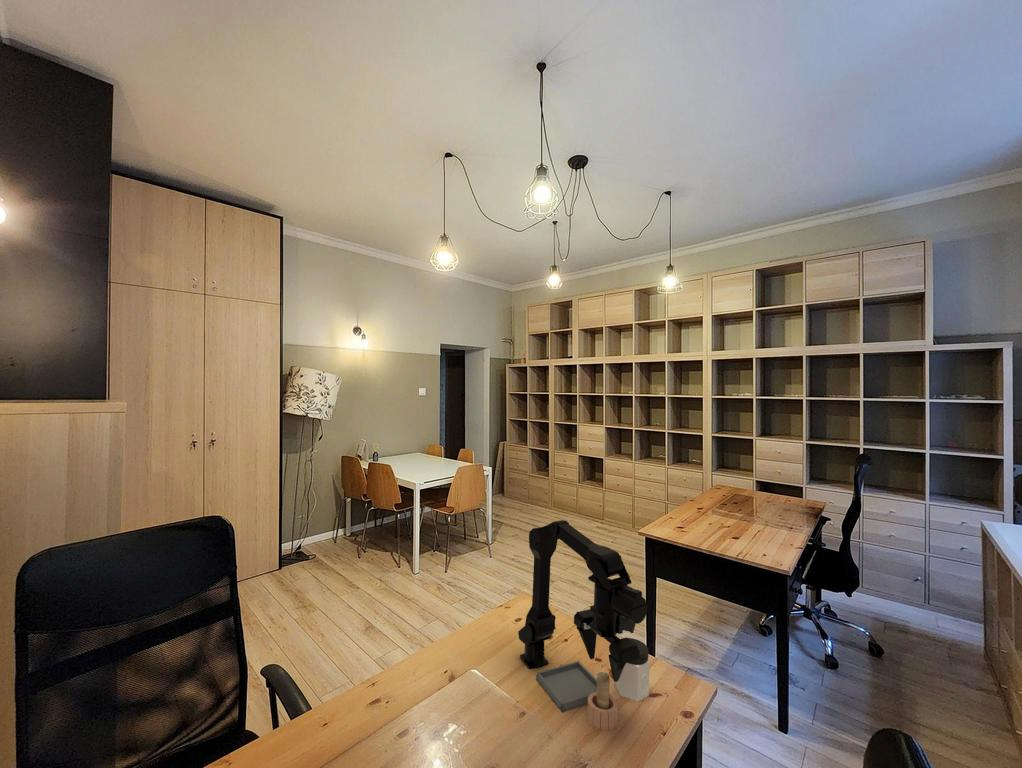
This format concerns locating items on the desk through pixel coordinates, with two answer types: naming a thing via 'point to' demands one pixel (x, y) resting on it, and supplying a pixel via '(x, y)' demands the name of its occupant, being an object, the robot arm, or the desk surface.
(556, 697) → the tray
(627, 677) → the jar
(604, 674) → the dowel
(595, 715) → the cup
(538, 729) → the desk surface
